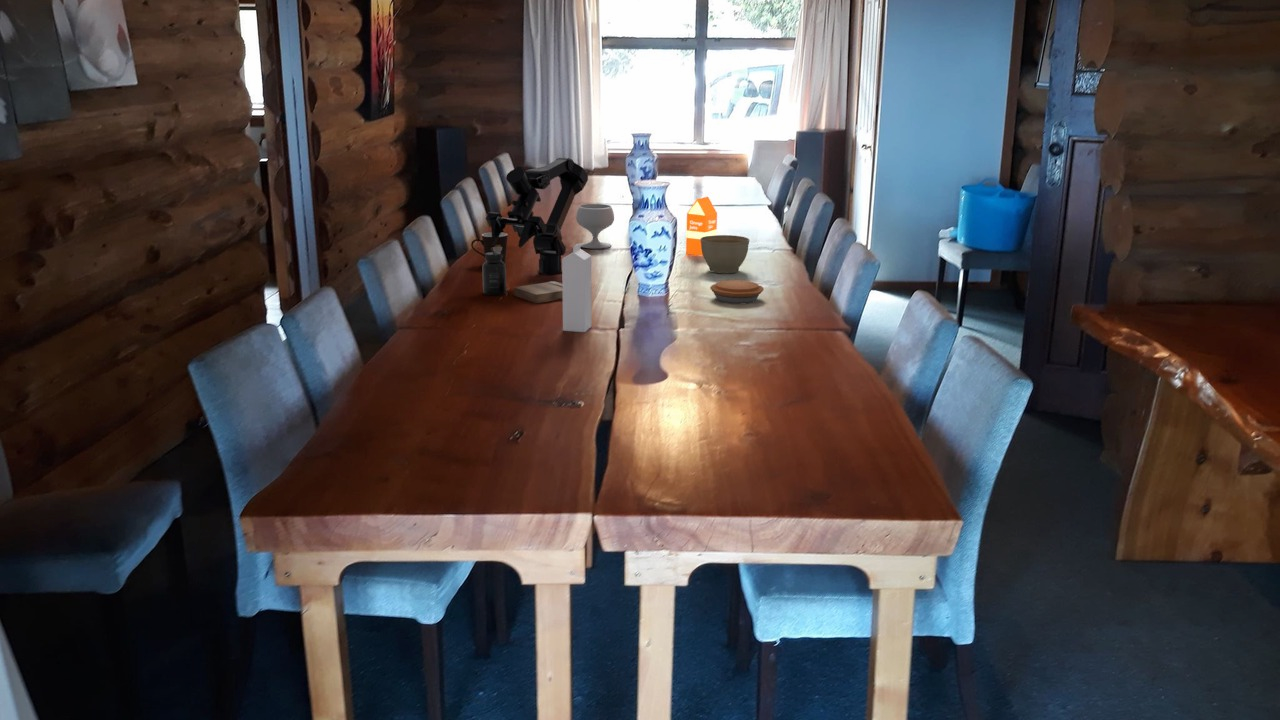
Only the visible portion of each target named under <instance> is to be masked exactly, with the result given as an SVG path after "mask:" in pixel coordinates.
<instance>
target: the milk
mask: <svg viewBox="0 0 1280 720" xmlns="http://www.w3.org/2000/svg"><path fill="white" fill-rule="evenodd" d="M580 244H581V243H580V242H579V243H576V245H574V246H572V253H569V254H568V255H566V256H564V257H562V258H561V271H562V273H561V274H562V275H561V276H562V277H561V278H562V288H563V299H562V331H564V332H576V333H586V332H587V331H588V330H589V329H591V327H592V255H591V254H589V253H587V251H585V250H583V249H581V247H580Z"/></svg>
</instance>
